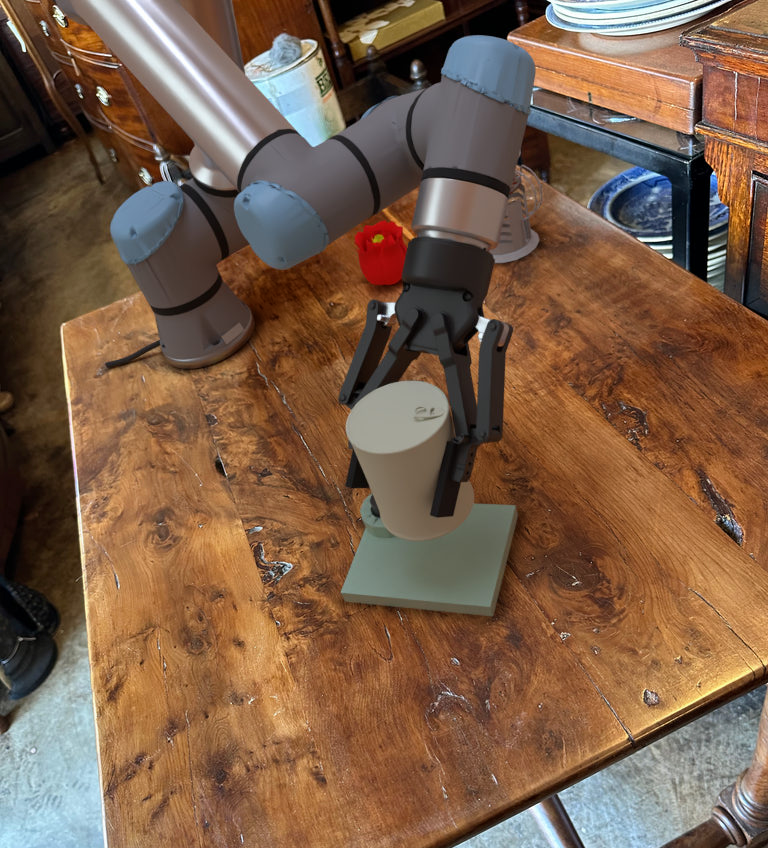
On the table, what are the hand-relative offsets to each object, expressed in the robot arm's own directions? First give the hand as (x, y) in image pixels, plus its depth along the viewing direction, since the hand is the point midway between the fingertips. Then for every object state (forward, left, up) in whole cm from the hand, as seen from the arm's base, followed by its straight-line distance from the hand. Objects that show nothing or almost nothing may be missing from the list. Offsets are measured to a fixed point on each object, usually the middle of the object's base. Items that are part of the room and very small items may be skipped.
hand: (397, 500), depth 71 cm
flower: (-22, +57, -14) cm, 63 cm away
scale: (-1, +4, -14) cm, 14 cm away
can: (+1, +3, -4) cm, 5 cm away
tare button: (-7, +8, -11) cm, 15 cm away
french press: (-4, +64, -14) cm, 66 cm away
